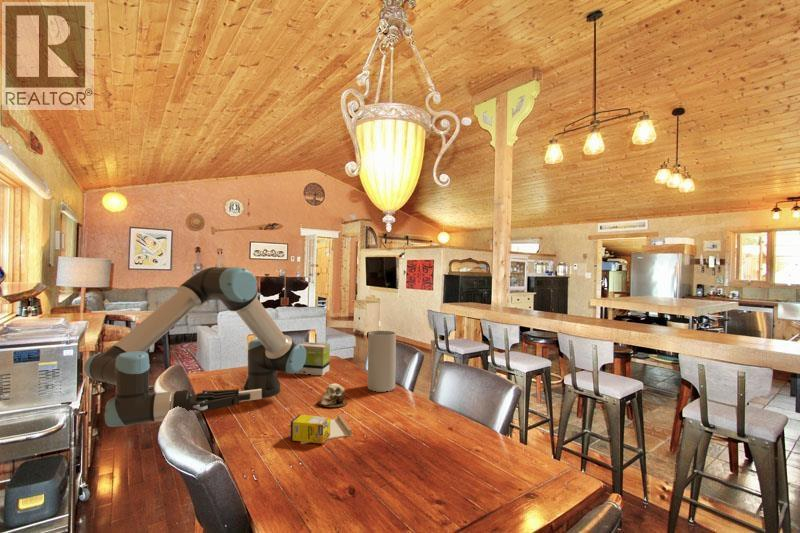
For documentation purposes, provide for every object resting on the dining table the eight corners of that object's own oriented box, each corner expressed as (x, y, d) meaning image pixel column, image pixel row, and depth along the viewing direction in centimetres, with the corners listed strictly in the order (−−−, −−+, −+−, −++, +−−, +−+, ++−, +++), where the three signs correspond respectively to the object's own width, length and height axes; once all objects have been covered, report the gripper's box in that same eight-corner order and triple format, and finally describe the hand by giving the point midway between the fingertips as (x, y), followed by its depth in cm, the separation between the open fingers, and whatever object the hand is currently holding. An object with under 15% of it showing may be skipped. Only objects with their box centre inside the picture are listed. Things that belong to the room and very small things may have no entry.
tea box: (294, 374, 192) (295, 345, 192) (302, 369, 202) (303, 341, 202) (322, 376, 189) (323, 346, 189) (329, 371, 199) (330, 342, 199)
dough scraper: (301, 444, 116) (301, 438, 116) (294, 426, 129) (294, 421, 129) (351, 435, 123) (351, 429, 123) (340, 419, 136) (340, 414, 136)
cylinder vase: (400, 387, 174) (401, 332, 174) (384, 394, 163) (385, 336, 163) (378, 382, 180) (379, 329, 180) (361, 389, 170) (362, 333, 170)
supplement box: (290, 440, 118) (322, 444, 115) (290, 421, 118) (322, 424, 115) (299, 432, 124) (330, 435, 121) (299, 414, 124) (330, 417, 121)
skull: (330, 409, 143) (319, 385, 147) (319, 421, 148) (309, 398, 153) (355, 400, 151) (344, 378, 156) (344, 412, 157) (333, 390, 161)
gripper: (176, 409, 114) (260, 398, 124) (170, 427, 102) (263, 413, 112) (176, 385, 114) (260, 375, 124) (170, 399, 102) (263, 388, 112)
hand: (261, 393), depth 118 cm, fingers closed
